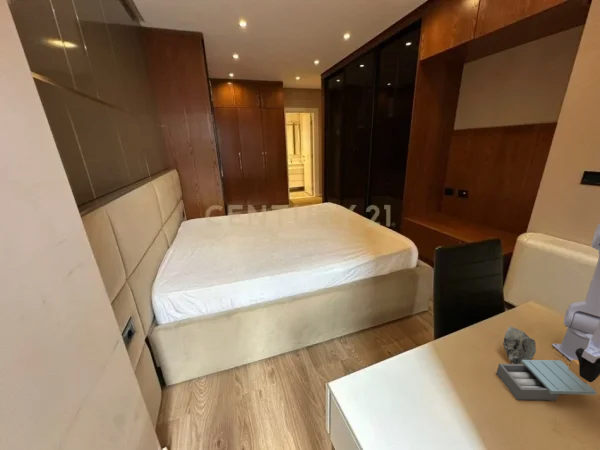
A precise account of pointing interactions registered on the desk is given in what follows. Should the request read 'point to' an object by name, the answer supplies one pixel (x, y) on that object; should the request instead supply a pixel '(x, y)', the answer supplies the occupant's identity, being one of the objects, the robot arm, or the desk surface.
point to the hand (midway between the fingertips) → (595, 374)
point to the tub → (523, 383)
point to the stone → (518, 345)
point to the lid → (559, 376)
